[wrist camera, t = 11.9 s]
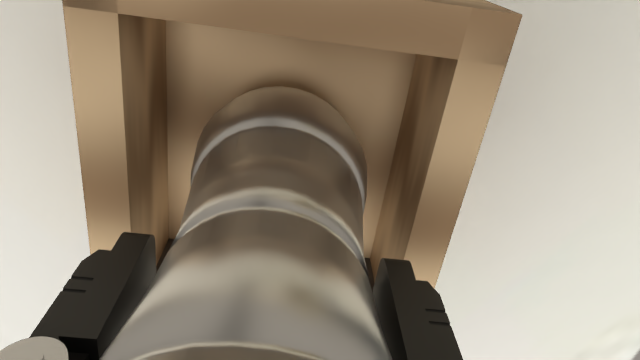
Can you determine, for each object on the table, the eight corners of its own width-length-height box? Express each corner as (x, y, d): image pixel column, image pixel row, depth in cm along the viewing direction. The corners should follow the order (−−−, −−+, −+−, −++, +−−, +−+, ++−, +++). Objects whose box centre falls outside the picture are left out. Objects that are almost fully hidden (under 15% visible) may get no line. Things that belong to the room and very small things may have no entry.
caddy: (131, -58, 18) (56, -54, 13) (462, -9, 19) (522, 14, 14) (144, 243, 24) (98, 330, 19) (390, 267, 25) (412, 356, 20)
